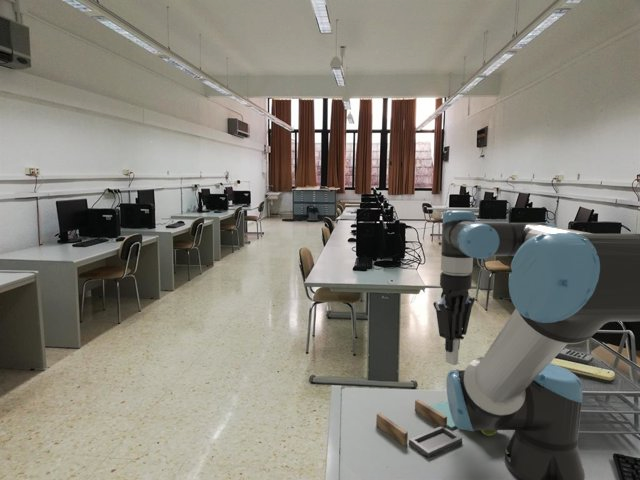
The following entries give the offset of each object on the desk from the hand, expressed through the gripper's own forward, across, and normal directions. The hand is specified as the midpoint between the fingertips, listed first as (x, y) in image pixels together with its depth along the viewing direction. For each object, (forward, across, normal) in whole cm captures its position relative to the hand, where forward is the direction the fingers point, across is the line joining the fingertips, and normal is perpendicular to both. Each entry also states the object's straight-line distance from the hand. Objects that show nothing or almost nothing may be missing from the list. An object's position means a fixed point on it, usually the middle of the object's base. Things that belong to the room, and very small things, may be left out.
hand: (451, 362), depth 110 cm
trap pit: (+14, +12, +7) cm, 20 cm away
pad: (+14, 0, 0) cm, 14 cm away
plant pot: (+11, -2, +2) cm, 11 cm away
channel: (+14, +12, -1) cm, 19 cm away
